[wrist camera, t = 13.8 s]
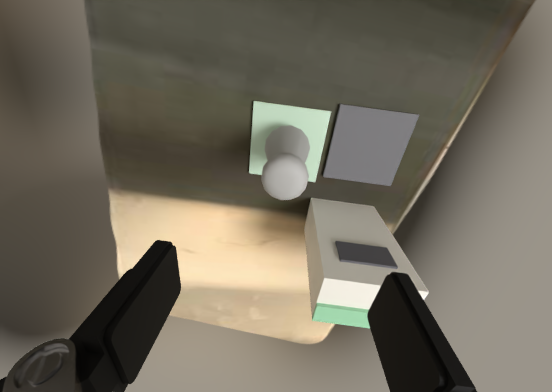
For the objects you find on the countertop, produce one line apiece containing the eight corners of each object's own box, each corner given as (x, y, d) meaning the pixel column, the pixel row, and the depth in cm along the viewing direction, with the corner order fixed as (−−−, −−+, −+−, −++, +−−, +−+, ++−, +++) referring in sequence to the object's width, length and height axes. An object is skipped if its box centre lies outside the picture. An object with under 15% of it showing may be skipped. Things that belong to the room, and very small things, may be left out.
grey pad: (339, 103, 28) (340, 104, 28) (416, 114, 28) (419, 115, 28) (322, 175, 33) (323, 176, 33) (388, 184, 33) (390, 185, 33)
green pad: (254, 100, 29) (253, 101, 28) (330, 111, 29) (331, 111, 28) (249, 171, 34) (248, 173, 33) (314, 180, 34) (315, 182, 33)
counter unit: (311, 196, 35) (325, 279, 20) (374, 204, 35) (432, 293, 20) (303, 229, 38) (311, 322, 23) (361, 237, 38) (404, 334, 24)
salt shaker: (316, 132, 30) (331, 167, 18) (297, 169, 32) (301, 219, 21) (275, 114, 29) (265, 138, 17) (260, 153, 32) (242, 196, 20)
